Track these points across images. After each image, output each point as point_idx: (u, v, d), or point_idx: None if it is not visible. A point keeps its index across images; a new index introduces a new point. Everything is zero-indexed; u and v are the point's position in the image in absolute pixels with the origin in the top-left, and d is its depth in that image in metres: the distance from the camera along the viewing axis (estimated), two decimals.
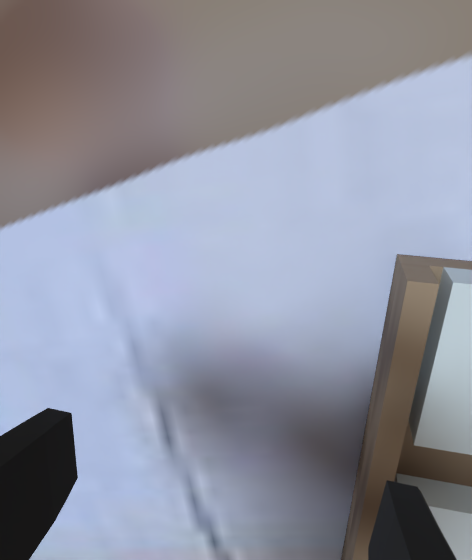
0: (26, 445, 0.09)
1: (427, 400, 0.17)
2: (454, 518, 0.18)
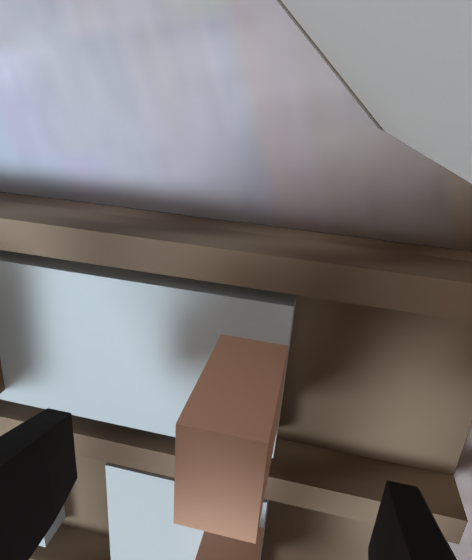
0: (26, 445, 0.09)
1: None
2: (119, 530, 0.17)
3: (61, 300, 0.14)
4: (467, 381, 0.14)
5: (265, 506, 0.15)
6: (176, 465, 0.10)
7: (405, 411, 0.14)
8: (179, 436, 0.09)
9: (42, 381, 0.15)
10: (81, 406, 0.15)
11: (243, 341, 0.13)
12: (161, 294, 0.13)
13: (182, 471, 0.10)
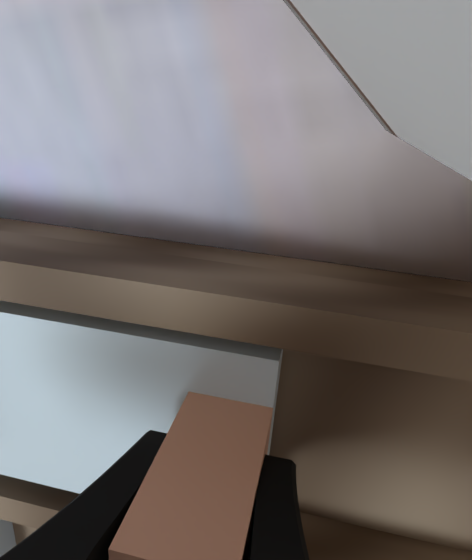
0: None
1: None
2: None
3: None
4: None
5: None
6: None
7: (418, 478, 0.12)
8: None
9: None
10: (25, 468, 0.13)
11: (216, 402, 0.10)
12: (113, 341, 0.10)
13: None
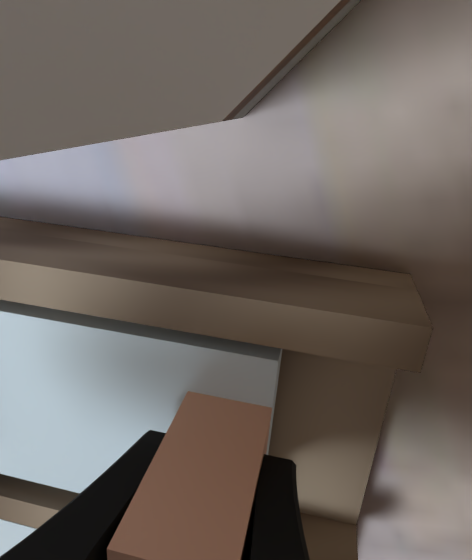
0: None
1: None
2: None
3: None
4: (362, 420, 0.11)
5: None
6: None
7: (296, 453, 0.12)
8: None
9: None
10: (23, 467, 0.13)
11: (215, 402, 0.10)
12: (112, 341, 0.10)
13: None
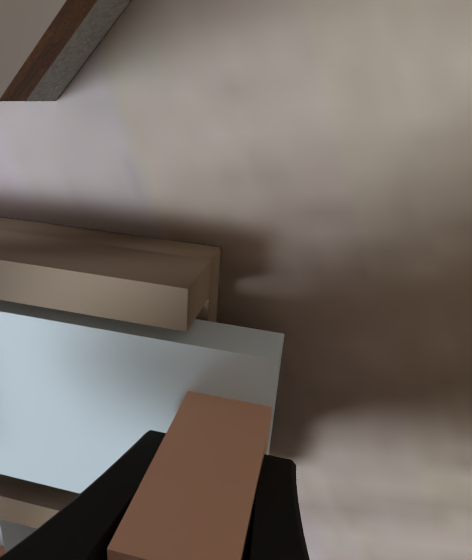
0: None
1: None
2: None
3: None
4: None
5: None
6: None
7: None
8: None
9: None
10: (24, 467, 0.13)
11: (215, 401, 0.10)
12: (112, 341, 0.10)
13: None
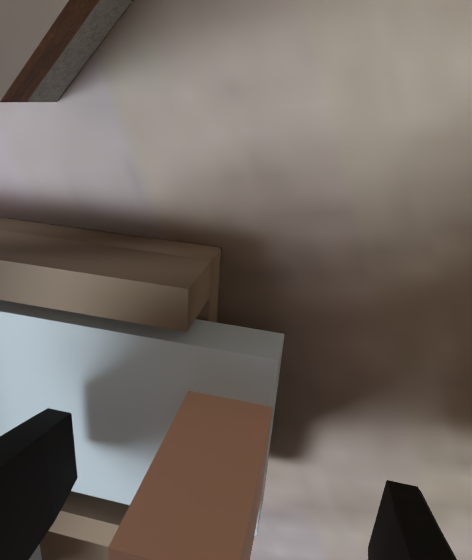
0: (27, 445, 0.09)
1: None
2: None
3: None
4: None
5: None
6: None
7: None
8: None
9: None
10: None
11: (215, 401, 0.10)
12: (112, 341, 0.10)
13: None
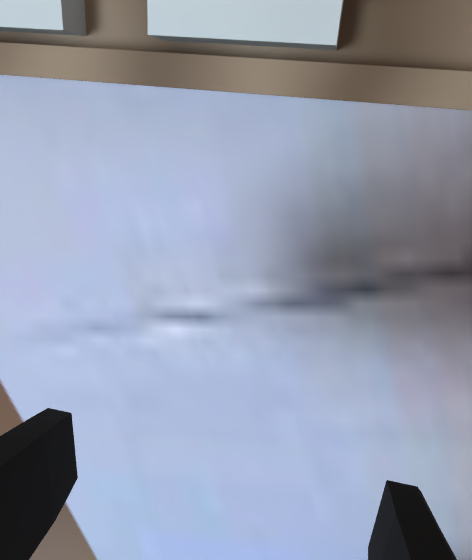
0: (27, 445, 0.09)
1: (4, 24, 0.15)
2: None
3: None
4: None
5: None
6: None
7: None
8: None
9: None
10: None
11: None
12: None
13: None
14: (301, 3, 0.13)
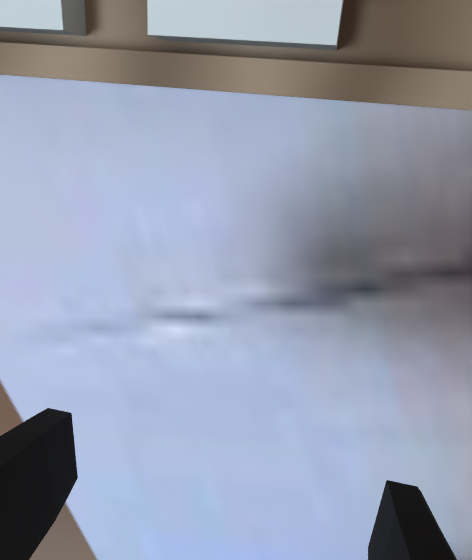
0: (27, 445, 0.09)
1: (4, 24, 0.15)
2: None
3: None
4: None
5: None
6: None
7: None
8: None
9: None
10: None
11: None
12: None
13: None
14: (301, 3, 0.13)
